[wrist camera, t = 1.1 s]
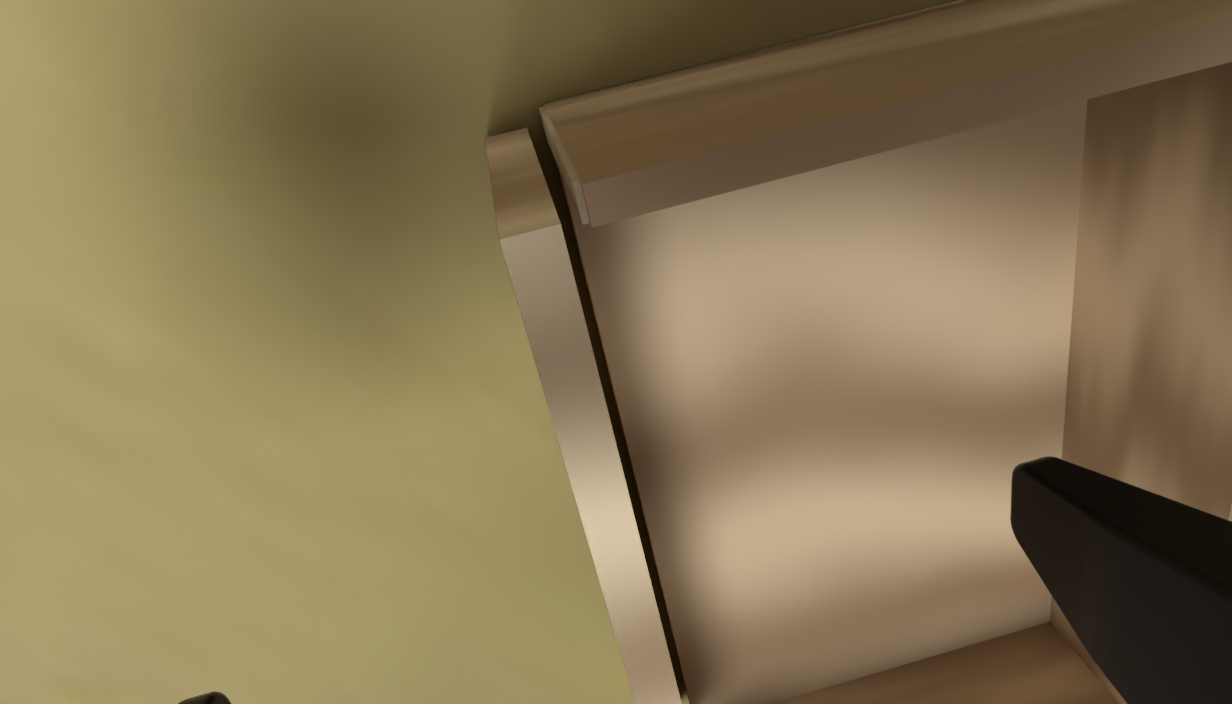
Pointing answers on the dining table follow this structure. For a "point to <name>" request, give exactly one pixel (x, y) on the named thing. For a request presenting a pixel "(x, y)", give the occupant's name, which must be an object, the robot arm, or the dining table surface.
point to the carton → (907, 328)
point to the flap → (578, 408)
